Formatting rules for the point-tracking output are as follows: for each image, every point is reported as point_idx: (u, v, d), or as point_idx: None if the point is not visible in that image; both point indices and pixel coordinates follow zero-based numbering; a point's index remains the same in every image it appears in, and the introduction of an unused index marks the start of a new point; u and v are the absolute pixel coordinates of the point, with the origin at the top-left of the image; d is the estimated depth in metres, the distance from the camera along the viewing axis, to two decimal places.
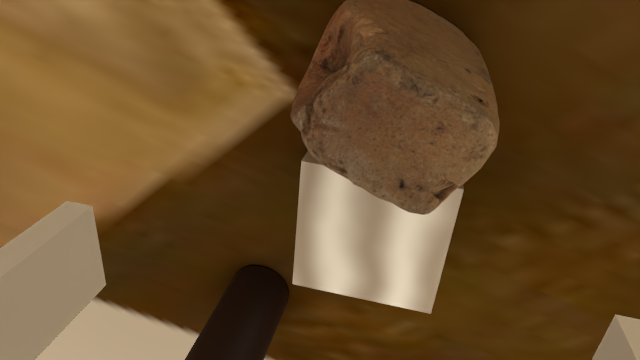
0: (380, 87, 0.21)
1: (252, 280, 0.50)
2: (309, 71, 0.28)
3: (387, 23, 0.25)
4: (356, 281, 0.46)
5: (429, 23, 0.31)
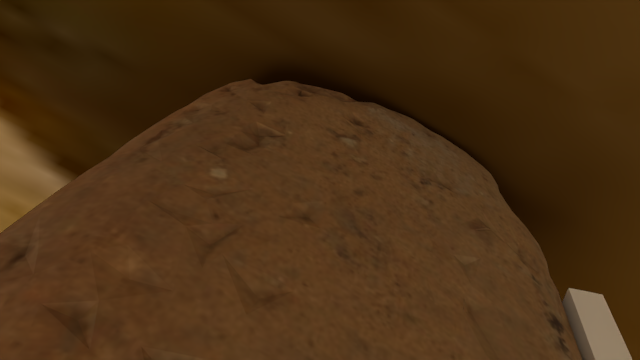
0: None
1: None
2: None
3: None
4: None
5: (397, 230, 0.09)
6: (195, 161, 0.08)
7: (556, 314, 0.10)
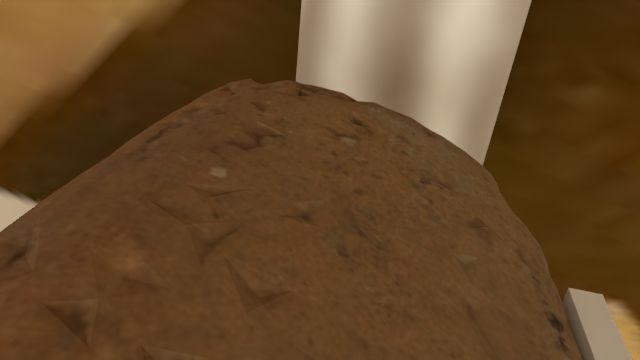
0: None
1: None
2: None
3: None
4: None
5: (397, 229, 0.09)
6: (196, 160, 0.08)
7: (556, 313, 0.10)
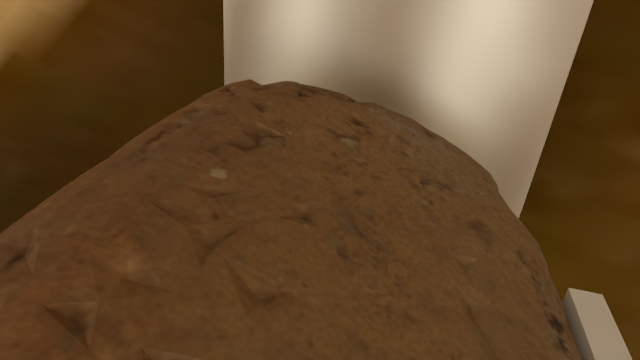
0: None
1: None
2: None
3: None
4: None
5: (396, 230, 0.09)
6: (195, 161, 0.08)
7: (556, 314, 0.10)
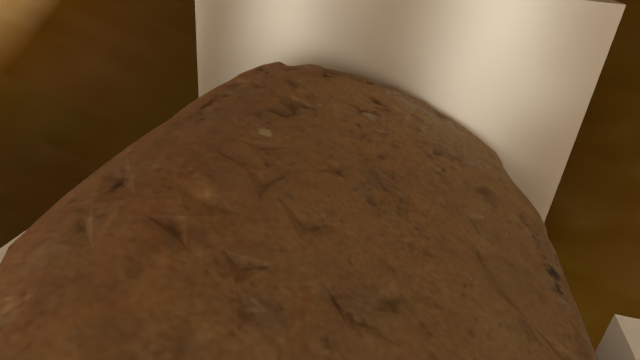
0: None
1: None
2: None
3: None
4: None
5: (415, 189, 0.11)
6: (245, 122, 0.09)
7: (553, 266, 0.11)
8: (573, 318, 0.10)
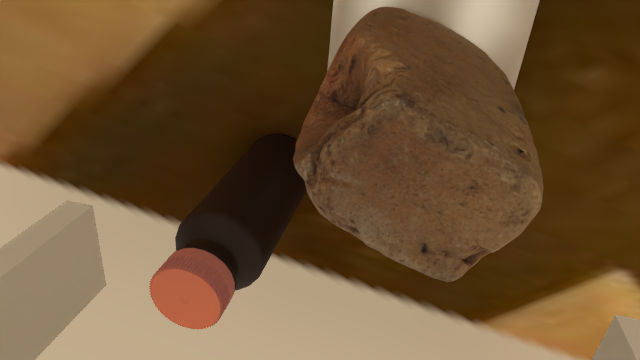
0: (402, 139, 0.17)
1: (271, 144, 0.42)
2: (316, 104, 0.24)
3: (408, 54, 0.21)
4: None
5: (452, 47, 0.27)
6: (393, 18, 0.26)
7: (507, 81, 0.28)
8: (511, 90, 0.26)
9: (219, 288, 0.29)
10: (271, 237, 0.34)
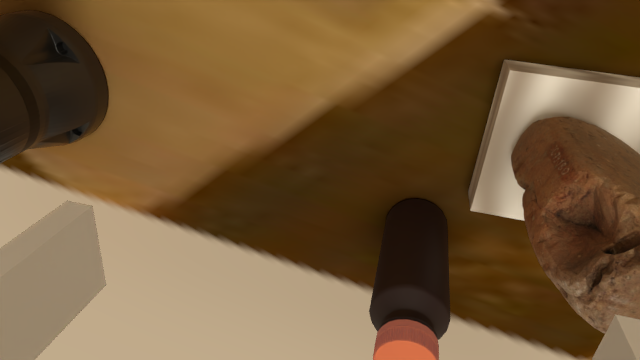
0: None
1: (419, 210, 0.49)
2: (544, 219, 0.31)
3: None
4: None
5: (633, 162, 0.34)
6: (592, 142, 0.33)
7: None
8: None
9: None
10: (449, 302, 0.41)
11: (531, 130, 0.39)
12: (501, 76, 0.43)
